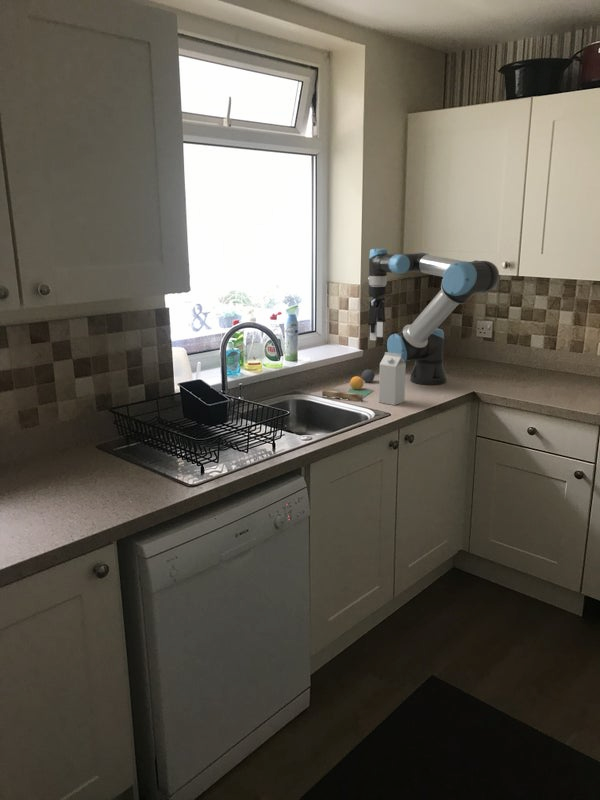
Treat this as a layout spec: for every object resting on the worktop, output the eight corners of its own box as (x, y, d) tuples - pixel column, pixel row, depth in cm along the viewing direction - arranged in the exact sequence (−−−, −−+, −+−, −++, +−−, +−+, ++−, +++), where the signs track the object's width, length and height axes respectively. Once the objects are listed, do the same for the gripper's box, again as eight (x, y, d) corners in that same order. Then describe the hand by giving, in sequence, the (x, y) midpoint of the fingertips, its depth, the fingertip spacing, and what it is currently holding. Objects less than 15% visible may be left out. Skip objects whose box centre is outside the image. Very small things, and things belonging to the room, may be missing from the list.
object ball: (365, 388, 270) (365, 375, 269) (360, 391, 265) (360, 378, 264) (352, 387, 272) (352, 374, 271) (347, 390, 268) (348, 377, 266)
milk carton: (388, 398, 255) (389, 350, 250) (404, 401, 250) (406, 352, 245) (378, 402, 249) (379, 353, 244) (394, 405, 245) (396, 355, 240)
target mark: (373, 390, 266) (373, 390, 266) (361, 399, 254) (361, 398, 254) (341, 387, 272) (341, 387, 272) (328, 395, 260) (328, 395, 260)
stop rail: (362, 400, 253) (362, 394, 252) (360, 401, 251) (360, 395, 250) (324, 396, 259) (324, 390, 258) (322, 397, 257) (322, 391, 257)
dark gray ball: (376, 381, 282) (376, 368, 281) (372, 384, 278) (372, 371, 276) (364, 380, 285) (364, 367, 283) (359, 382, 280) (360, 370, 278)
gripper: (377, 283, 290) (376, 334, 296) (360, 287, 272) (359, 341, 278) (393, 283, 287) (392, 335, 293) (378, 288, 269) (376, 343, 274)
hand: (376, 338), depth 285 cm, fingers open, 8 cm apart
